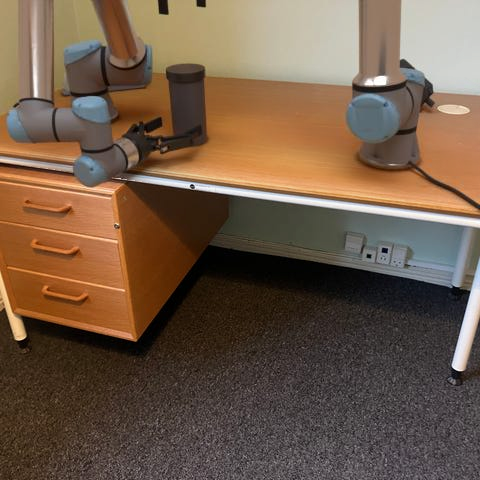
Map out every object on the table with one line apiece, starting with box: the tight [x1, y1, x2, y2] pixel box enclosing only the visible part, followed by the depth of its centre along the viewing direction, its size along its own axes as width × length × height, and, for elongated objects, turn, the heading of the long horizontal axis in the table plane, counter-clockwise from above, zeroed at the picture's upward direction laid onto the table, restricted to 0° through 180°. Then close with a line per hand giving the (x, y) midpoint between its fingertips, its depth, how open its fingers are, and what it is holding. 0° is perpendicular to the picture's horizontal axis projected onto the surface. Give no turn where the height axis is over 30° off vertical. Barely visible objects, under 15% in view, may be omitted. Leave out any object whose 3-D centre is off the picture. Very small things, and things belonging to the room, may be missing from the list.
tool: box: [400, 58, 436, 108], centre depth 172 cm, size 6×19×15 cm, turn 51°
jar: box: [167, 78, 208, 147], centre depth 148 cm, size 10×10×20 cm
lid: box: [165, 62, 206, 82], centre depth 143 cm, size 11×11×2 cm
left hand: (180, 125), depth 146 cm, fingers open, 13 cm apart
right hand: (183, 10), depth 135 cm, fingers open, 13 cm apart
